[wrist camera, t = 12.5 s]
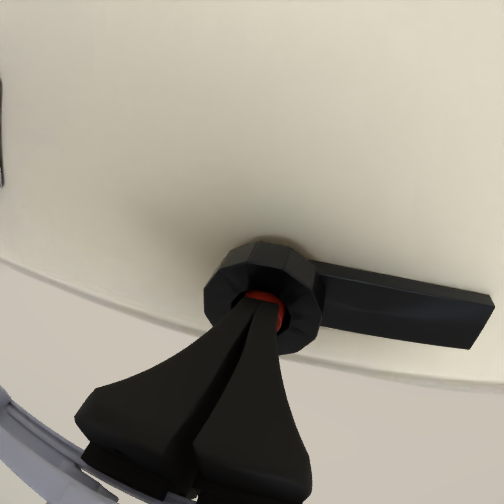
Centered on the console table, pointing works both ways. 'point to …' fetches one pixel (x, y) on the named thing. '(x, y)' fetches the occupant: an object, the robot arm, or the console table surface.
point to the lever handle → (344, 300)
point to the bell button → (270, 298)
